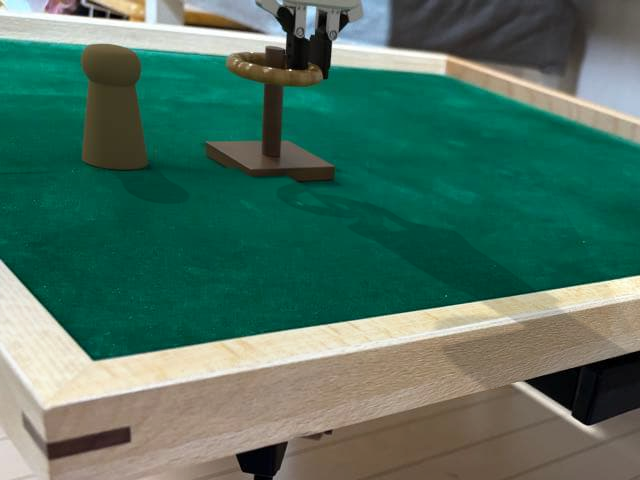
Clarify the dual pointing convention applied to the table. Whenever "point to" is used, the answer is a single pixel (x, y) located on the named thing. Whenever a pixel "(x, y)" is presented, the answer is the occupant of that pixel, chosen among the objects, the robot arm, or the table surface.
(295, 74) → the ring
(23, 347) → the table surface
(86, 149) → the cork
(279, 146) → the post
